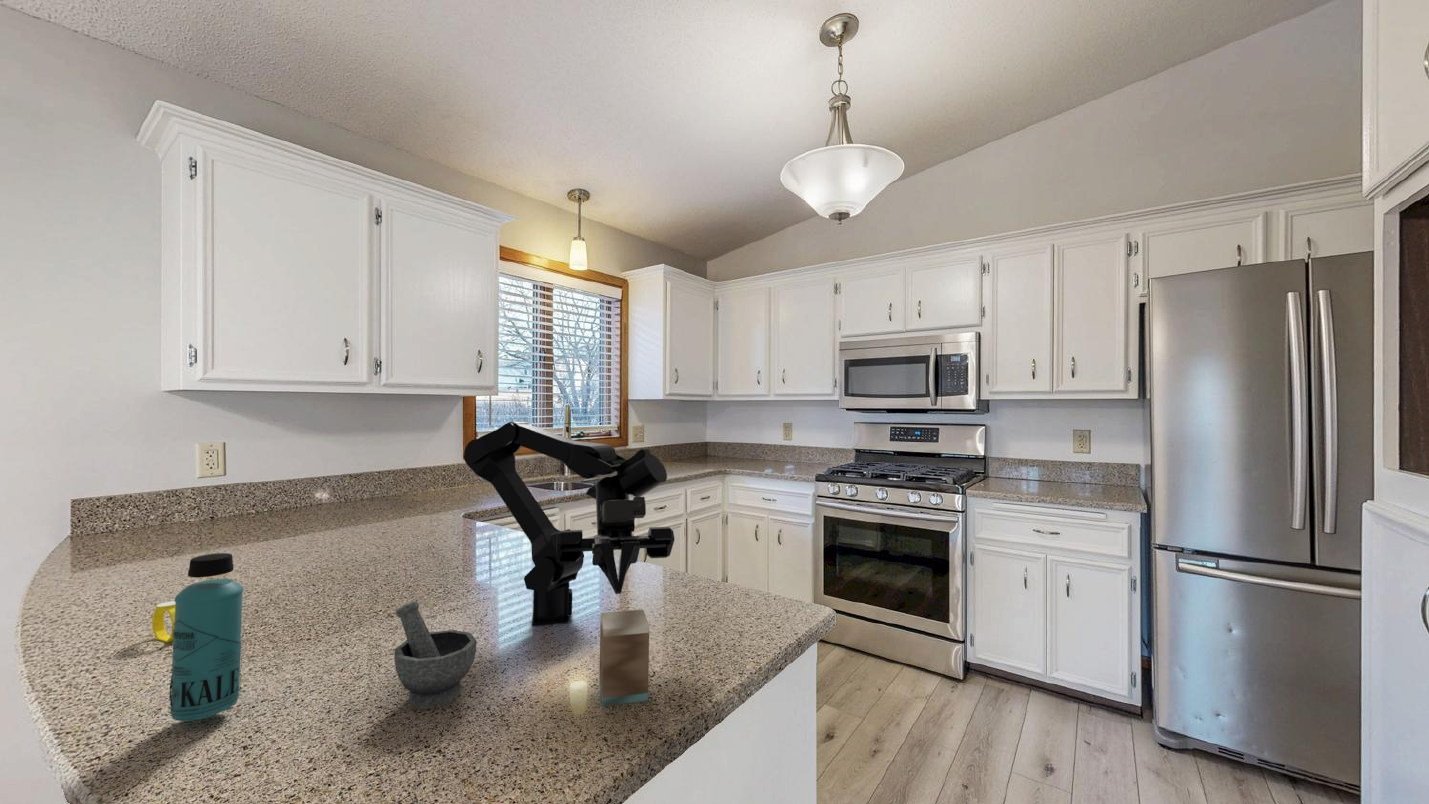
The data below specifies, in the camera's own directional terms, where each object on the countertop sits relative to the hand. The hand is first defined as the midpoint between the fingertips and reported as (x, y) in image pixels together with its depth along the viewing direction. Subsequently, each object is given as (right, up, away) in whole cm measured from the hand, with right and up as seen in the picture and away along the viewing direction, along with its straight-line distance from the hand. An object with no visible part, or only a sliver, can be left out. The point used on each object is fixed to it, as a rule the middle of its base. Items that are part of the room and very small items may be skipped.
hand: (618, 592), depth 85 cm
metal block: (+2, -11, -9) cm, 14 cm away
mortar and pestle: (-23, -10, -11) cm, 28 cm away
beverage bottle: (-47, -10, -18) cm, 51 cm away
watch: (-74, -10, +5) cm, 75 cm away
